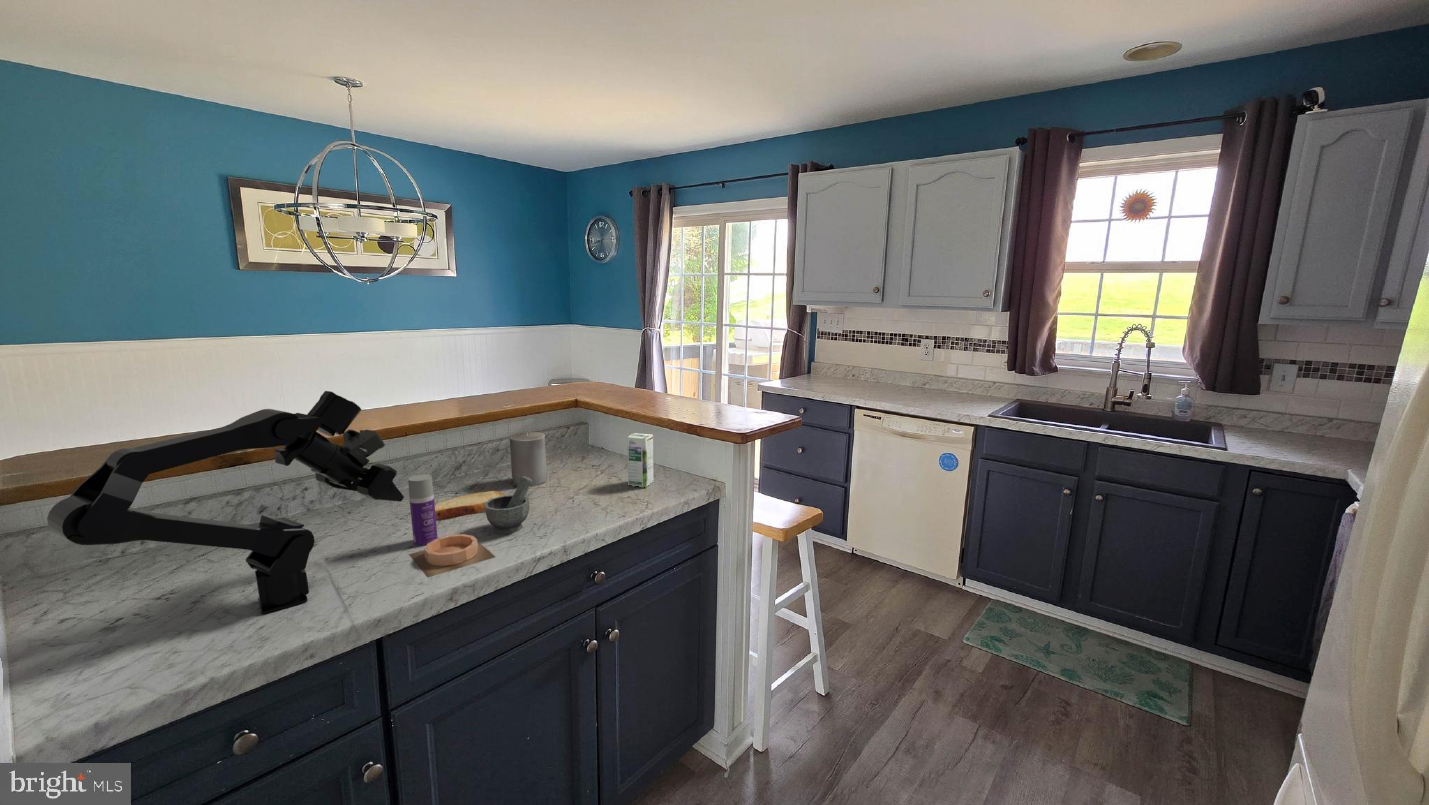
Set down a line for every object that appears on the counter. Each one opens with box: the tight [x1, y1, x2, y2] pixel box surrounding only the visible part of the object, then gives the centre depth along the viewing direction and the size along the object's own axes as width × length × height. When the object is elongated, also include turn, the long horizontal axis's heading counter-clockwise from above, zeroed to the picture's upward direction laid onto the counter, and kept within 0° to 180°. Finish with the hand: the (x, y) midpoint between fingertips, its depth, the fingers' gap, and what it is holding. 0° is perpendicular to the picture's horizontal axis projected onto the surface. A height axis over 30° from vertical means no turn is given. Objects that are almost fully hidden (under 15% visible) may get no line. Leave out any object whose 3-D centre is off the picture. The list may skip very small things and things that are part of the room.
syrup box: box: [626, 432, 654, 489], centre depth 163 cm, size 6×6×14 cm
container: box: [407, 473, 439, 547], centre depth 123 cm, size 5×5×15 cm
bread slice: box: [435, 490, 506, 522], centre depth 144 cm, size 18×18×4 cm
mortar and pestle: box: [484, 476, 533, 535], centre depth 131 cm, size 11×9×12 cm
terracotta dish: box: [423, 533, 479, 566], centre depth 118 cm, size 10×10×2 cm
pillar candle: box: [509, 431, 548, 488], centre depth 165 cm, size 10×10×15 cm
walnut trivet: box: [408, 540, 496, 578], centre depth 118 cm, size 13×13×1 cm
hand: (388, 495), depth 116 cm, fingers open, 9 cm apart
